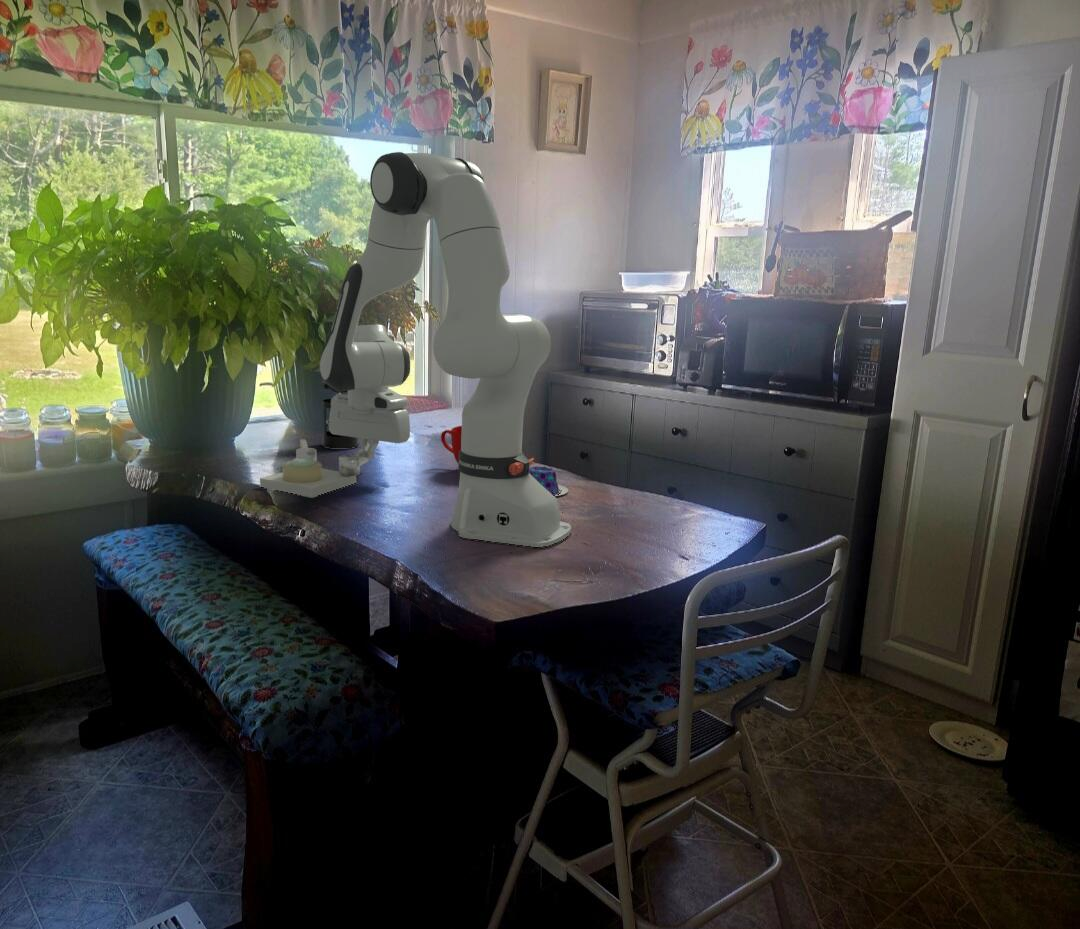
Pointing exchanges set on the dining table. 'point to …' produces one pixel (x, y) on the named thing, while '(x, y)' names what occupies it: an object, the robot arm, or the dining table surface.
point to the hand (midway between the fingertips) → (368, 458)
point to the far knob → (306, 451)
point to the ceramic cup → (453, 440)
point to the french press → (328, 437)
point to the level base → (309, 487)
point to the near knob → (351, 463)
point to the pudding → (547, 479)
